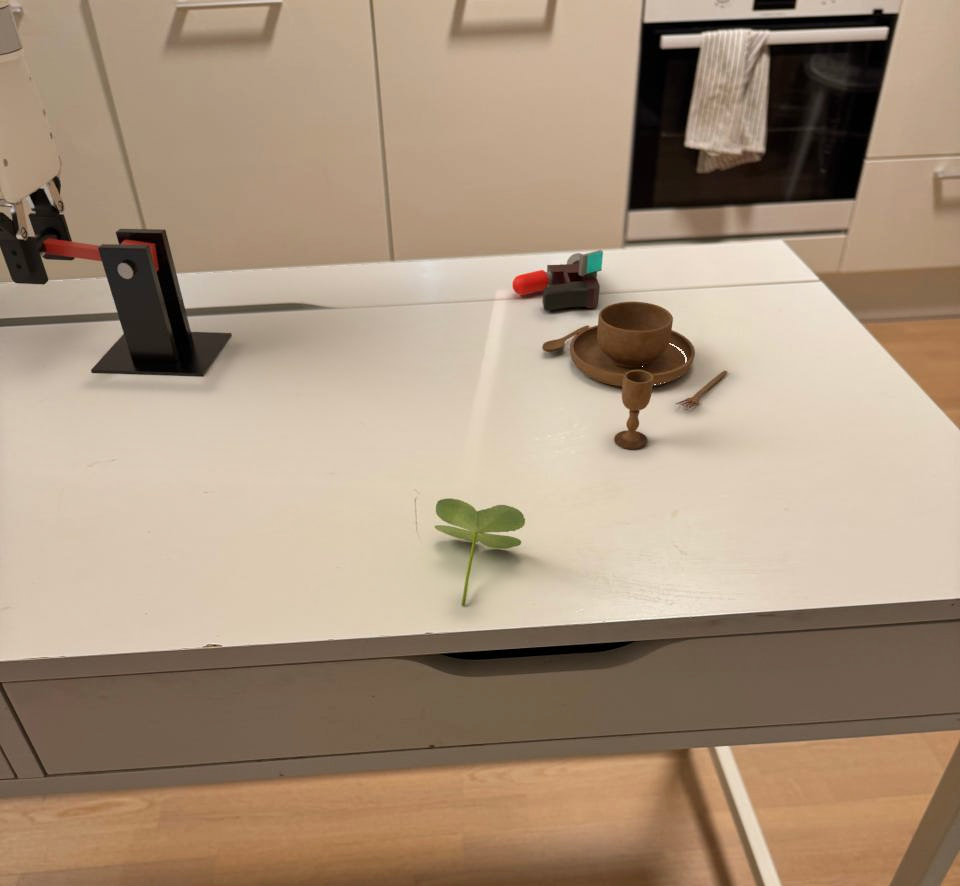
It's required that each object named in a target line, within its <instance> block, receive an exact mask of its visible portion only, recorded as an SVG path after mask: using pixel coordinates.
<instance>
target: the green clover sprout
mask: <svg viewBox="0 0 960 886" xmlns="http://www.w3.org/2000/svg"><path fill="white" fill-rule="evenodd" d="M435 514H436V516H437V518H438V519H440V520H442V521H443V522H445V523H446V524H449V525H445V524H444V525H443V524H439V525H438V524H437V525H434V529H435V530H437V531H438V532H441V533H443V534H445V535H448V536H450V537H453V538H456V539H459V540H463V541H468V542H471V544H472V545H471V549H470V554H469V560H468V564H467V569H466V573H465V578H464V579H465V580H464V585H463V586H464V588H463V592H462V594H463V595H462V599H461V606H462V607H463V606H465V604H466V600H467V594H468V586H469V579H470V573H471V569H472V565H473V559H474V553H475V547H476V543H480V544H482V546H485V547H488V548H492V549H504V550H506V549H507V550H508V549H511V548H516V547H519V546H521V544H522V540H521V539H520V538H518V537H514V536H511V535H504V534H496V533H509V532H516V531H518V530H520V529H522V528H523V527H524V526H525V524H526V518H525V516H524V514H523V512H522V511H521V510H520V509H518V508H516V507H514V506H510V505H506V504H497V505H492V506H491V507H488V508H485V509H480V510H476V508H475V507H474V506H473V505H471V504H470V503H468V502H465V501H464V500H461V499H458V498H457V499H456V498H452V497H451V498H448V497H447V498H441V499H439V500H437V502H436V505H435Z"/></svg>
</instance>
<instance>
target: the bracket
mask: <svg viewBox="0 0 960 886" xmlns="http://www.w3.org/2000/svg"><path fill="white" fill-rule="evenodd" d="M115 235H116V238H117V242H118V243H117V244H114V243H113V244H111V243H107V244H106V243H102V244H101V245H99V246H100V247H98V250H99V254H100V257H101V260H102V261H101V264H102V266H103V270H104V273H105V277H106V279H107V283H108V286H109V289H110V293H111V296H112V300H113V302H114V306H115V310H116V313H117V315H118V319H119V324H120V325H121V329H122V332H123V333H122V335H120V337H119V339H117V340H116V341H115V342H114V344H113V345H112V346H111V347H110V348H109V349H108V350H107V351H106V352H105V354H104V355H103V356H102V357H101V358H100V359H99V360H98V361H97V362H96V364H95V365H94V366H93V367H92V368H91V369H90V372H91V374H105V375H109V374H110V375H137V376H138V375H139V376H140V375H141V376H166V377H167V376H169V377H195V378H196V377H198V378H199V377H200V378H203V377H205V375H206V374H207V373H208V371H209V369H210V368H211V366H212V365H213V364H214V362H215V361H216V359H217V358H218V356H220V353H221V352H222V351H223V349H224V348H225V346H226V345H227V343H228V342H229V340H231V338H232V332H212V331H211V332H210V331H209V332H208V331H191V327H190V323H189V317H188V315H187V311H186V307H185V303H184V302H185V301H184V298H183V294H182V291H181V286H180V283H179V278H178V274H177V271H176V266H175V263H174V259H173V254H172V250H171V247H170V242H169V238H168V234H167V230H166V229H163V228H161V229H160V228H159V229H158V228H157V229H155V228H154V229H153V228H119V229H117V230H116V231H115ZM125 239H126V240H133V241H140V242H147V243H154V244H155V247H156V253H157V260H158V267H159V270H158V271H157V272H156V269H155V265H154V261H153V257H152V253H151V250H150V246H149V245H120V244H121V243H122V242H123V241H124V240H125Z"/></svg>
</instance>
